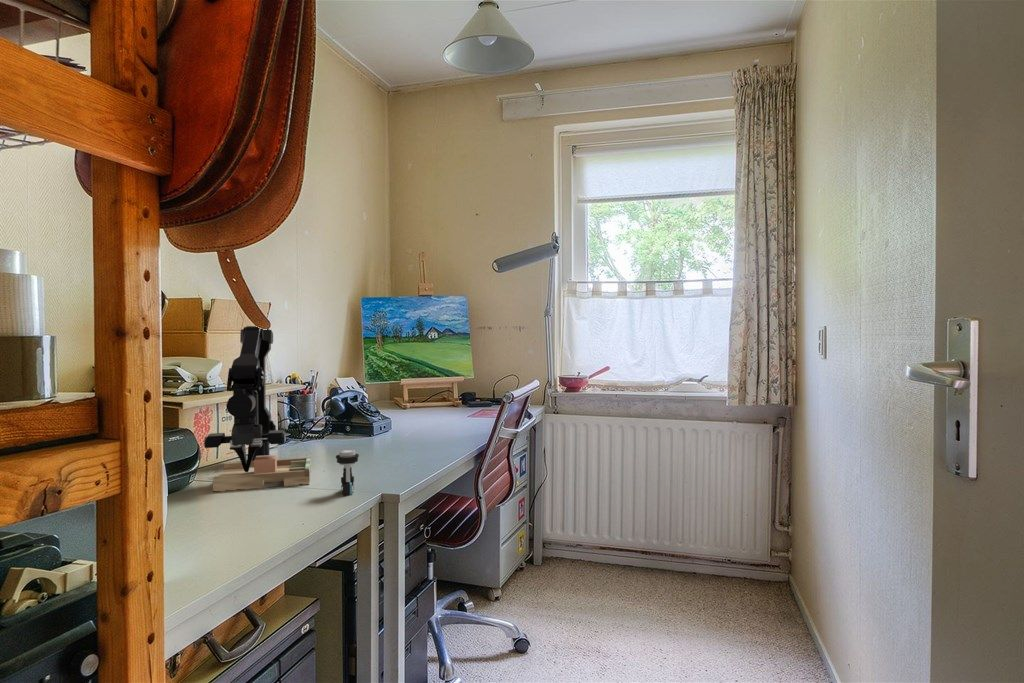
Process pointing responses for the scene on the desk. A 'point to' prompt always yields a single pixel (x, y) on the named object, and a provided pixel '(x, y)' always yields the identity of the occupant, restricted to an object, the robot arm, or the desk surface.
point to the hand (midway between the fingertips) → (246, 471)
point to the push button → (347, 469)
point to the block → (265, 464)
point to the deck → (264, 475)
